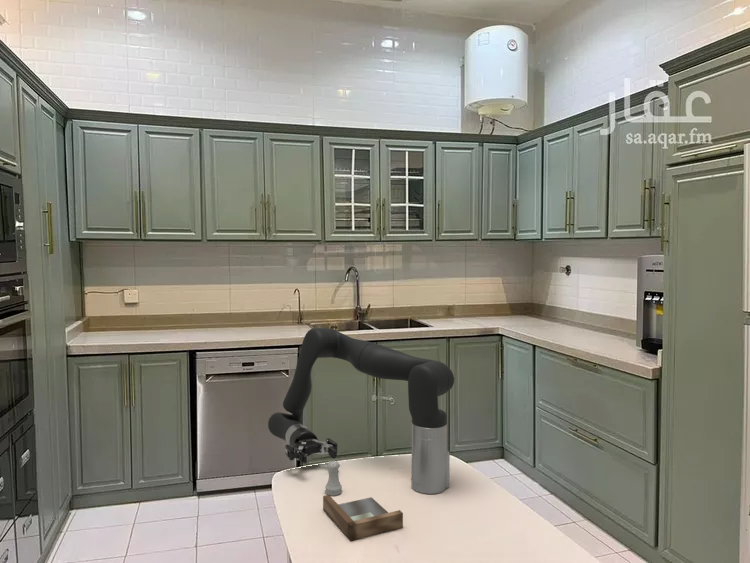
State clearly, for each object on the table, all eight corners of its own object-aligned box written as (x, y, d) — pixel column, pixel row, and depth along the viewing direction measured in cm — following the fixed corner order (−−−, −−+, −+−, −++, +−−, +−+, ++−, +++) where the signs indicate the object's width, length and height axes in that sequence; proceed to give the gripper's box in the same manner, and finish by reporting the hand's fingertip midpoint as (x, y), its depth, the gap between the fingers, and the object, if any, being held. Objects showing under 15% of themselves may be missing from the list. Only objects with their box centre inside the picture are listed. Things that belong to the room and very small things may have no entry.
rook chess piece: (339, 497, 139) (339, 466, 138) (322, 495, 139) (322, 464, 139) (344, 489, 143) (344, 459, 143) (327, 488, 144) (327, 458, 143)
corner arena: (371, 499, 137) (371, 485, 137) (402, 528, 123) (402, 512, 123) (323, 510, 131) (323, 495, 131) (350, 541, 117) (350, 525, 117)
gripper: (278, 430, 161) (295, 448, 146) (323, 424, 167) (344, 440, 152) (278, 455, 161) (295, 475, 146) (323, 448, 167) (344, 466, 153)
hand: (320, 457), depth 149 cm, fingers open, 8 cm apart
